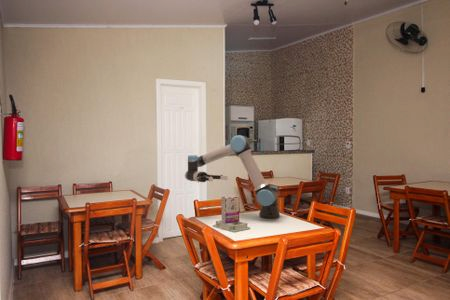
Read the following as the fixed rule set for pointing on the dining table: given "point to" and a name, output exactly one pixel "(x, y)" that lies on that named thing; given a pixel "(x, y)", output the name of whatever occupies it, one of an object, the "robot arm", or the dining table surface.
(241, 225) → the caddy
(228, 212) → the candy bar box
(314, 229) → the dining table surface
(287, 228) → the dining table surface
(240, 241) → the dining table surface
